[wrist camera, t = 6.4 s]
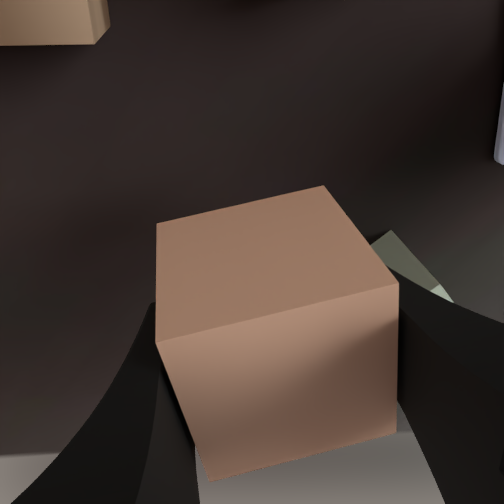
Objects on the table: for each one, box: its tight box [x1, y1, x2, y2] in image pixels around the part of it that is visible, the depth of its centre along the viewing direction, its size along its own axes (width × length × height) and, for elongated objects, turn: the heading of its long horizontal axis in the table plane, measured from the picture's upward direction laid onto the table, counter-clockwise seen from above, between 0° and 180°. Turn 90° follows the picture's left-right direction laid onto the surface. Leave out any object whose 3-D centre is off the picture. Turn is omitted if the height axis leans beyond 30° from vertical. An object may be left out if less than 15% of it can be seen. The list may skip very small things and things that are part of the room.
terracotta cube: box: [155, 185, 399, 482], centre depth 12 cm, size 5×5×5 cm
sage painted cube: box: [370, 230, 454, 303], centre depth 23 cm, size 5×5×5 cm
